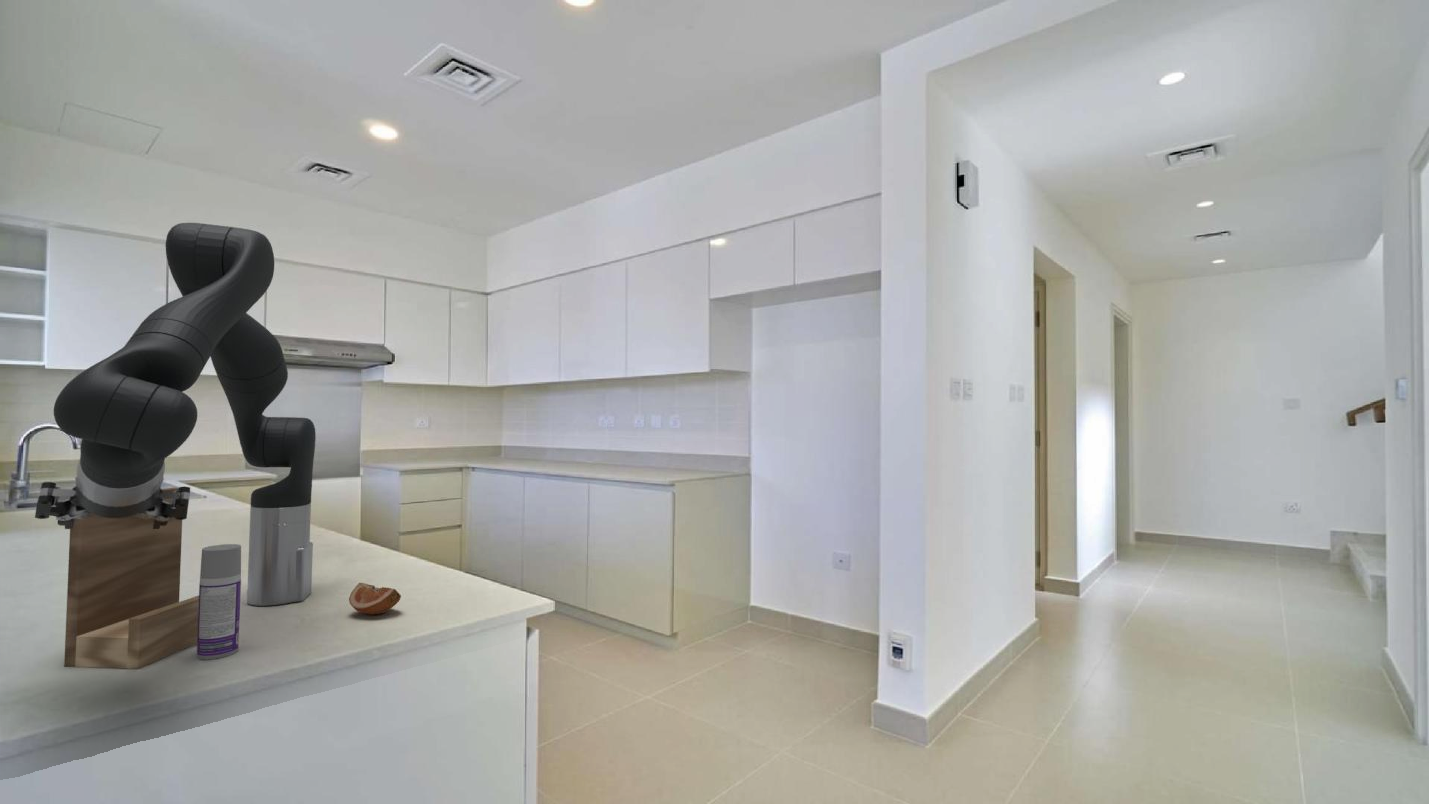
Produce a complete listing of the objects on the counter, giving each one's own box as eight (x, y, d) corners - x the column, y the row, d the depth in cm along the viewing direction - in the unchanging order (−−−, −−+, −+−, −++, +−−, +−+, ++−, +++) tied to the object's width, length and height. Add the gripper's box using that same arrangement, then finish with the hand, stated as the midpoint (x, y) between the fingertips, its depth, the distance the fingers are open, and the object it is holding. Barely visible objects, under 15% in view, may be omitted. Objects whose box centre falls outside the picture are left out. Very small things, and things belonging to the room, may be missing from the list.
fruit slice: (408, 612, 111) (409, 583, 111) (375, 623, 105) (376, 593, 105) (373, 606, 114) (374, 578, 114) (339, 617, 108) (340, 587, 108)
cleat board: (231, 628, 101) (236, 488, 102) (137, 668, 85) (144, 502, 86) (168, 627, 101) (174, 487, 102) (64, 666, 85) (71, 500, 86)
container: (211, 647, 93) (215, 543, 93) (246, 647, 93) (249, 544, 94) (188, 659, 88) (192, 550, 89) (224, 659, 89) (228, 550, 89)
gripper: (201, 451, 82) (186, 497, 92) (41, 441, 72) (44, 493, 82) (194, 507, 78) (179, 548, 89) (26, 504, 69) (31, 550, 79)
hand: (114, 522), depth 86 cm, fingers open, 8 cm apart
